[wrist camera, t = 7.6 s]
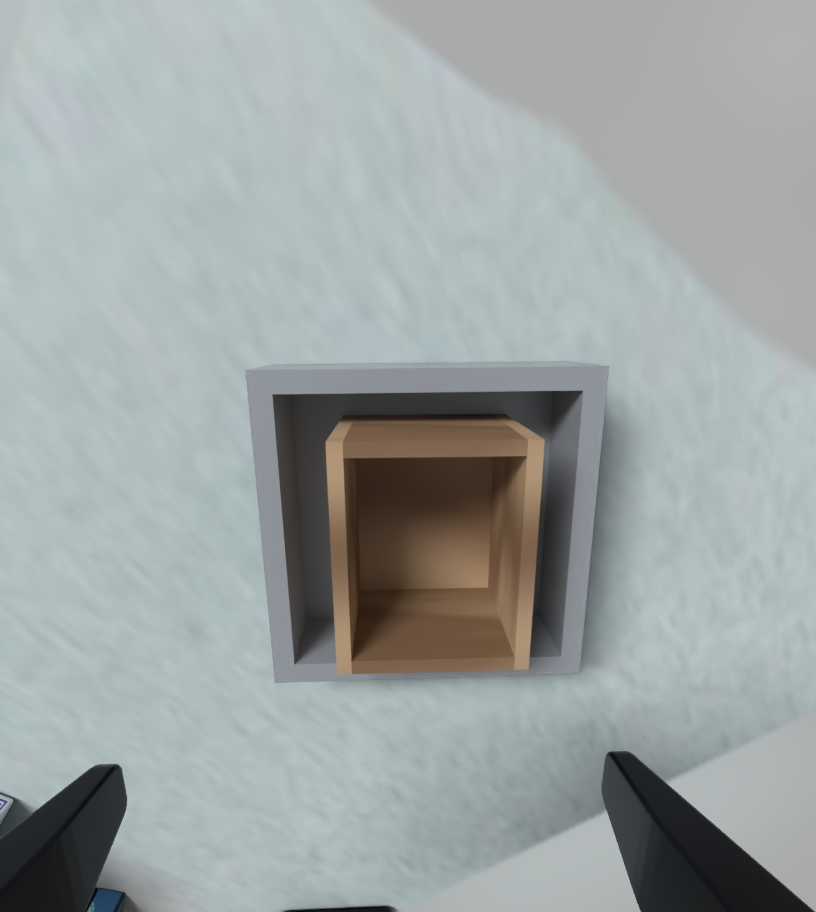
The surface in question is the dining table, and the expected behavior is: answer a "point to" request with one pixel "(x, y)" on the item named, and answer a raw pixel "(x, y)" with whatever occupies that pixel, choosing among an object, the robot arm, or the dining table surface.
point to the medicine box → (4, 806)
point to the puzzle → (105, 901)
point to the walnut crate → (433, 541)
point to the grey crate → (419, 393)
